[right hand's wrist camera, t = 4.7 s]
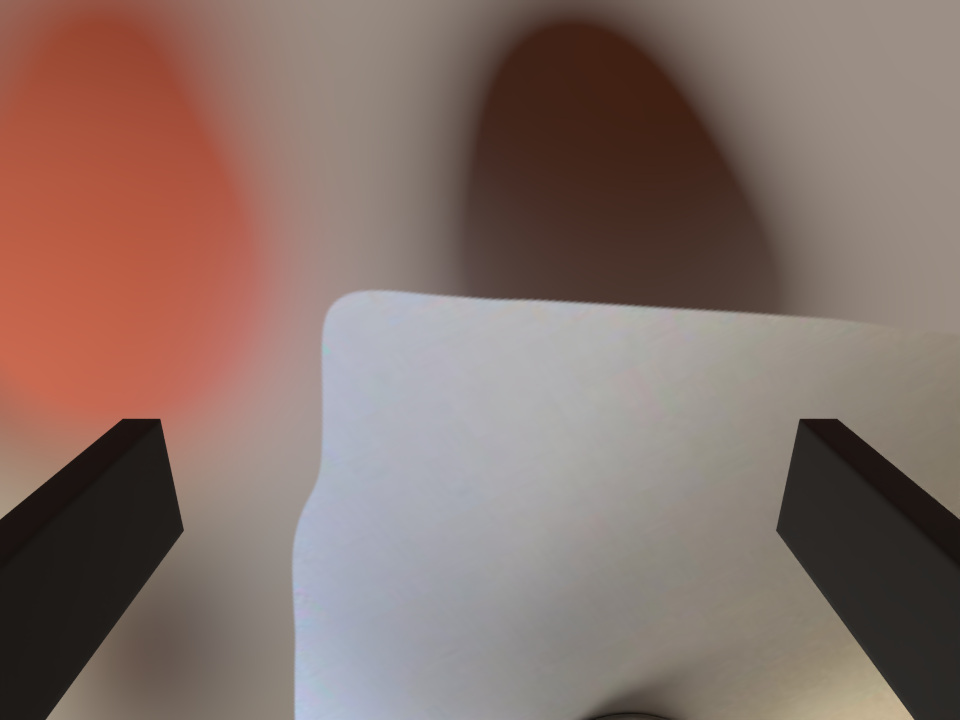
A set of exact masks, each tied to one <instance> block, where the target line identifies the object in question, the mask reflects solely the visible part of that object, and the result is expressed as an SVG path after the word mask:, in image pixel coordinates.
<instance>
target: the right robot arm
mask: <svg viewBox="0 0 960 720" xmlns="http://www.w3.org/2000/svg"><path fill="white" fill-rule="evenodd" d="M183 531H184V529H183V524H182V520H181V515H180V510H179V506H178V501H177V496H176V491H175V486H174V482H173V477H172V472H171V468H170V463H169V458H168V453H167V449H166V444H165V439H164V434H163V430H162V425H161V420H160V419H122V420H121V421H120V422H118V423H117V424H116V425H115V426H114V427H112V428H111V429H110V430H109V431H108V432H106V433H105V434H104V435H103V436H101V437H100V438H99V439H98V440H97V441H95V442H94V443H93V444H92V445H91V446H89V447H88V448H87V449H86V450H84V451H83V452H82V453H81V454H80V455H78V456H77V457H76V458H75V459H73V460H72V461H71V462H70V463H69V464H67V465H66V466H65V467H64V468H62V469H61V470H60V471H59V472H58V473H56V474H55V475H54V476H53V477H52V478H50V479H49V480H48V481H47V482H45V483H44V484H43V485H42V486H41V487H39V488H38V489H37V490H36V491H34V492H33V493H32V494H31V495H30V496H28V497H27V498H26V499H25V500H24V501H22V502H21V503H20V504H19V505H17V506H16V507H15V508H14V509H13V510H11V511H10V512H9V513H8V514H6V515H5V516H4V517H3V518H2V519H0V720H46V718H47V717H48V716H49V714H50V713H51V712H52V710H53V709H54V707H55V706H56V705H57V703H58V702H59V701H60V699H61V698H62V697H63V695H64V694H65V692H66V691H67V690H68V688H69V687H70V685H71V684H72V683H73V681H74V680H75V679H76V677H77V676H78V675H79V673H80V672H81V671H82V669H83V668H84V666H85V665H86V664H87V662H88V661H89V660H90V658H91V657H92V655H93V654H94V653H95V651H96V650H97V649H98V647H99V646H100V645H101V643H102V642H103V640H104V639H105V638H106V636H107V635H108V634H109V632H110V631H111V629H112V628H113V627H114V625H115V624H116V623H117V621H118V620H119V619H120V617H121V616H122V614H123V613H124V612H125V610H126V609H127V608H128V606H129V605H130V604H131V602H132V601H133V599H134V598H135V597H136V595H137V594H138V592H139V591H140V590H141V588H142V587H143V586H144V584H145V583H146V582H147V580H148V579H149V578H150V576H151V575H152V573H153V572H154V571H155V569H156V568H157V567H158V565H159V564H160V562H161V561H162V560H163V558H164V557H165V556H166V554H167V553H168V552H169V550H170V549H171V547H172V546H173V545H174V543H175V542H176V541H177V539H178V538H179V537H180V535H181V534H182V532H183ZM776 531H777V532H778V534H779V535H780V537H781V538H782V539H783V541H784V542H785V543H786V545H787V546H788V547H789V549H790V550H791V552H792V553H793V554H794V556H795V557H796V558H797V560H798V561H799V562H800V564H801V565H802V567H803V568H804V569H805V571H806V572H807V573H808V575H809V576H810V578H811V579H812V580H813V582H814V583H815V584H816V586H817V587H818V588H819V590H820V591H821V593H822V594H823V595H824V597H825V598H826V599H827V601H828V602H829V604H830V605H831V606H832V608H833V609H834V610H835V612H836V613H837V614H838V616H839V617H840V619H841V620H842V621H843V623H844V624H845V625H846V627H847V628H848V630H849V631H850V632H851V634H852V635H853V636H854V638H855V639H856V640H857V642H858V643H859V645H860V646H861V647H862V649H863V650H864V651H865V653H866V654H867V655H868V657H869V658H870V660H871V661H872V662H873V664H874V665H875V666H876V668H877V669H878V671H879V672H880V673H881V675H882V676H883V677H884V679H885V680H886V681H887V683H888V684H889V686H890V687H891V688H892V690H893V691H894V692H895V694H896V695H897V697H898V698H899V699H900V701H901V702H902V703H903V705H904V706H905V707H906V709H907V710H908V712H909V713H910V714H911V716H912V717H913V718H914V720H960V519H958V518H957V517H956V516H955V515H954V514H952V513H951V512H950V511H949V510H947V509H946V508H945V507H944V506H943V505H941V504H940V503H939V502H938V501H936V500H935V499H934V498H933V497H932V496H930V495H929V494H928V493H927V492H926V491H924V490H923V489H922V488H921V487H919V486H918V485H917V484H916V483H915V482H913V481H912V480H911V479H910V478H908V477H907V476H906V475H905V474H904V473H902V472H901V471H900V470H899V469H898V468H896V467H895V466H894V465H893V464H891V463H890V462H889V461H888V460H887V459H885V458H884V457H883V456H882V455H880V454H879V453H878V452H877V451H876V450H874V449H873V448H872V447H871V446H870V445H868V444H867V443H866V442H865V441H863V440H862V439H861V438H860V437H859V436H857V435H856V434H855V433H854V432H852V431H851V430H850V429H849V428H848V427H846V426H845V425H844V424H843V423H842V422H840V421H839V420H838V419H800V420H799V425H798V430H797V434H796V439H795V444H794V449H793V453H792V458H791V463H790V468H789V472H788V477H787V482H786V486H785V491H784V496H783V501H782V505H781V510H780V515H779V520H778V524H777V529H776ZM595 720H666V719H663V718H659V717H655V716H650V715H642V714H620V715H612V716H606V717H602V718H598V719H595Z"/></svg>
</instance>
